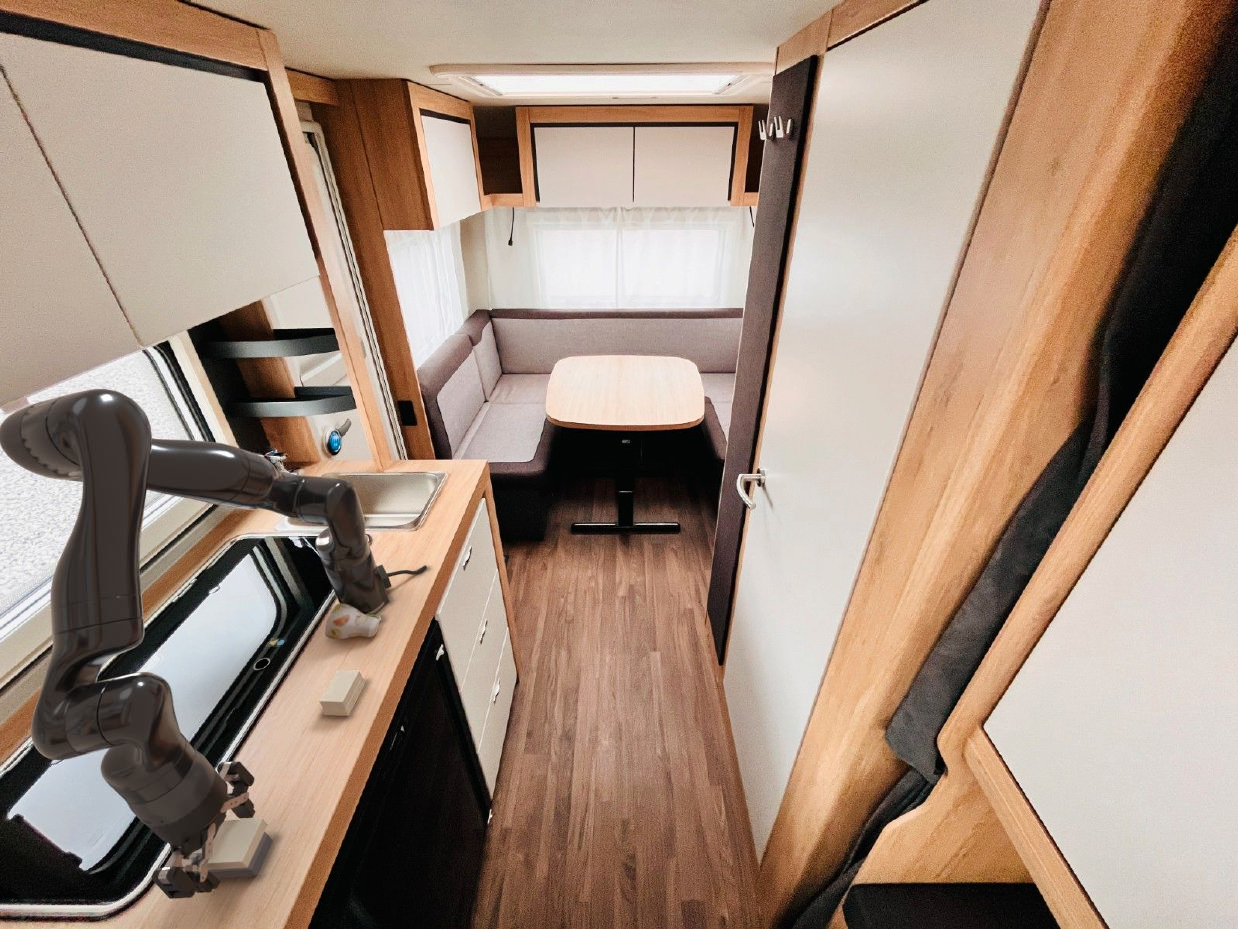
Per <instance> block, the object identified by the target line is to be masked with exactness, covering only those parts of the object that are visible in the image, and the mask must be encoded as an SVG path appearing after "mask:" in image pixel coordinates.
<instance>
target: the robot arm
mask: <svg viewBox="0 0 1238 929" xmlns="http://www.w3.org/2000/svg"><path fill="white" fill-rule="evenodd" d="M150 422H151V421H150V419H149V417H148V415H147V414H146V411H145V410H144V409H143V408H142V407H141V406H140V404H139V403H138V402H136V401H135V400H134V399H133V398H132V397H130V396H129V395H126V394H125V393H123V392H120V391H118V390H114V389H108V388H93V389H86V390H81V391H77V392H73V393H69V394H65V395H62V396H57V397H53V398H49V399H46V400H43V401H39V402H35V403H32V404H29V405H27V406H25V407H22V408H20V409H17V410H16V411H13V413H11V414H10V415H8V416H7V417H6V418H5V419H4V420H3V421H2V422H1V423H0V447H1V449H2V451H3V452H4V453H5V454H6V456H7V457H8V458H9V459H10V460H11V461H12V462H13V463H15V464H16V465H18V466H19V467H21V468H22V469H24V470H26V471H28V472H31V473H33V474H35V475H38V476H41V477H45V478H48V479H53V480H59V481H67V482H79V483H82V492H81V493H82V494H81V502H80V507H79V510H78V513H77V517H76V520H75V523H74V525H73V527H72V530H71V533H70V535H69V538H68V539H67V541H66V544H65V546H64V549H63V551H62V552H61V554H60V557H59V558H58V561H57V564H56V566H55V569H54V573H53V577H52V581H51V586H50V587H51V588H50V597H49V598H50V599H49V600H50V601H49V602H50V624H51V635H52V650H51V654H50V658H49V661H48V665H47V668H46V672H45V675H44V679H43V683H42V685H41V688H40V692H39V695H38V698H37V701H36V704H35V707H34V710H33V714H32V718H31V721H30V724H31V726H30V737H31V741H32V743H33V745H34V747H35V750H37V751H38V752H39V754H41V755H42V757H44V758H47V759H49V760H52V761H65V760H71V759H75V758H78V757H79V758H80V757H82V756H86V755H90V754H92V753H96V752H100V751H104V750H106V752H105V754H104V756H103V757H102V760H101V762H100V773H101V777H102V778H103V780H104V781H105V783H106V784H107V785H108V786H109V787H110V788H111V789H113V790H114V792H115V793H116V794H118V796H120V797H121V798H122V799H123V800H124V801H125V803H126V804H127V806H128V807H129V810H131V812H132V813H133V814H134V815H135V816H136V817H137V818H138V819H139V821H140V822H141V823H142V824H144V825H145V826H147V828H148V829H149V830H150V831H151V832H152V833H154V834H155V835H156V836H157V837H158V838H159V839H160V840H162V841H163V842H165V843H167V844H168V845H169V846H170V853H171V855H170V856H169V859H167V861H166V863H165V865H164V866H163V867H157V868H155V869H154V871H153V872H152V875H151V880H152V882H153V883H154V884H155V885H156V886H157V887H158V888H159V889H160V890H161V891H162V892H163V893H164V894H165V895H166V897H167V898H168V899H170V900H175V899H191V898H193V897H194V896H195V894H196V893H197V894H205V893H207V894H208V893H212V891H213V890H217V889H218V888H219V885H220V883H221V881H220V880H219V878H218V879H217V878H216V877H215V876H214V875H213V874H212V873H211V872H210V871H208V860H209V859H210V858H211V857H212V854H213V840H214V838H215V836H216V834H217V832H218V829H219V827H220V826H221V824H222V823H223V822H224V821H225V820H226V818H227V812H228V811H229V810H231V811H232V812H233V814H234V815H235V816H236V817H237V819H254V816H255V814H256V810H255V804H254V803H253V801H252V800H251V799H250V792H249V787H252V786H253V785H254V783H255V776H253V774H252V773H251V772H250V770H248V769H247V767H245V765H244V764H243V763H242V762H241V761H221V762H219V763H218V765H217V767H216V769H215V768H214V767H213V765H212V763H210V762H209V761H208V759H207V758H206V756H204V755H203V754H202V753H201V752H200V751H199V750H197V749H196V748H194V746H193V745H192V743H190V741H189V740H188V738H186V737H185V735H184V734H183V733H182V731H181V730H180V725H179V722H178V718H177V715H176V714H177V713H176V711H175V703H174V696H173V691H172V690H173V689H172V687H171V685H170V683H169V682H168V680H166V679H165V678H164V677H163V676H161V675H159V674H157V673H153V672H149V671H138V672H134V673H133V672H132V673H128V674H123V675H121V676H120V675H119V676H116V677H113V678H108V679H103V680H100V681H98V677H99V675H100V673H101V670H102V668H103V666H104V664H105V663H106V662H107V661H108V660H110V659H112V658H114V657H116V656H118V655H121V654H124V653H125V652H128V651H130V650H132V649H134V648H136V647H138V646H139V645H140V644H141V643H142V642H143V640H144V637H145V618H144V609H143V608H144V606H143V596H142V582H141V567H140V562H141V561H140V556H141V539H142V530H143V523H144V514H145V507H146V499H147V491H148V492H149V491H150V492H155V493H159V494H164V495H167V496H172V497H173V496H174V497H178V498H184V499H189V500H192V501H198V502H202V503H206V504H211V505H216V506H221V507H225V508H231V509H239V510H240V509H241V510H251V511H252V510H253V511H255V510H264V511H269V512H272V513H276V514H279V515H282V516H284V517H288V518H290V519H293V520H295V521H299V522H302V523H304V524H305V523H306V524H313V525H324V526H327V528H324V529H323V531H321V532H320V533H319V534H318V535H317V536H316V539H315V544H314V546H315V549H316V551H317V553H318V556H319V558H320V561H321V563H322V565H323V568H324V570H325V573H326V575H327V577H328V580H329V582H330V585H331V587H332V589H333V592H334V596H335V597H336V600H337V602H338V604H347V605H350V606H352V607H354V608H356V609H357V610H358V611H360V612H361V613H363V614H371V615H375V614H377V612H379V611H380V610H381V609H382V608H383V607H384V606H385V605H387V604H388V603H390V598H389V595H388V592H387V589H389V588H392V587H393V585H392V583H391V579H390V577H394V576H398V575H411V576H413V575H414V576H415V575H418V574H420V573H422V572H424V571H425V570H427V569H428V566H427V564H425V565H423V566H421V567H420V568H419V569H416V570H410V569H401V570H397V571H391V572H388V573H387V571H386V569H385V567H384V565H383V564H380V565H377V564H376V560H375V557H374V555H373V552H372V549H371V546H370V543H369V540H368V537H367V534H366V519H365V516H364V512H363V509H362V508H363V507H362V505H361V500H360V497H359V494H358V491H357V489H356V487H355V485H354V484H353V482H351V481H350V480H348V479H344V478H335V477H325V476H315V475H314V476H313V475H302V474H295V473H290V472H285V471H281V470H278V469H277V467H275V465H274V464H273V462H271V461H270V460H269V459H268V458H265V457H264V456H262V455H260V454H256V453H255V452H252V451H249V450H246V449H243V448H240V447H237V446H235V445H230V444H226V443H221V442H215V441H206V440H193V439H175V438H173V439H171V438H155V437H153V433H152V432H153V431H152V425H151V423H150ZM228 784H229V785H230V786H231V787H232V788H233V789H232V791H231V792H228V791H229V790H228V789H229V786H228ZM201 848H202V853H192V852H195V851H197V850H199V849H201ZM193 865H197V871H192V870H193Z"/></svg>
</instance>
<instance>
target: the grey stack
mask: <svg viewBox="0 0 1238 929" xmlns="http://www.w3.org/2000/svg"><path fill="white" fill-rule="evenodd" d="M272 844H273V839H272V837H271V836H270V835H269V834H268V833H267V832H266V831H265V832H264V834H263V836H262V838H261V840H260V842H259V844H258V847H257V849H256V851H255V853H254V855H253V857H252V859H251V861H250V863H249V866H248V868H232V869H215V870H208V871H210V872H211V873H212V874H213V875H214V876H215V877H216V878H217V879H218V880H219V879H234V878H249V877H251V878H252V877H258V874H259V872H260V870H261V868H262V866H263V863H264V861H265V859H266V856H267V854H268V853H269V850H270V848H271V846H272Z"/></svg>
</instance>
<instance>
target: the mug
mask: <svg viewBox="0 0 1238 929" xmlns="http://www.w3.org/2000/svg"><path fill="white" fill-rule="evenodd" d="M380 622H382V618H381V616H380V615H379V614H373V615H371V614H363V613H361V612H360V611H358V610H357V609H356V608H354V607H352V606H350V605H347V604H340V603H338V604H336V605H335V606H334V607H333V608H332V610H331V611H330V613H329V615H328V617H327V620H326V623H325V629H324V636H325V637H326V638H328V639H332V640H344V639H348V638H354V637H367V638H371V637H373V636H375V635H376V634H377V632H378V631H379V628H380Z"/></svg>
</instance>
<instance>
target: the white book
mask: <svg viewBox="0 0 1238 929" xmlns="http://www.w3.org/2000/svg"><path fill="white" fill-rule="evenodd" d="M267 827H268V823H267V821H265V819H264V818H243V819H229V820H227V819H225V820H224V822H223V823H222V824H221V826H220V827H219V829H218V832H217V834H216V836H215V838H214V840H213V854H212V857H211V858H210V859H209V860H208V870H215V869H232V868H248V866H249V863H250V861H251V859H252V857H253V855H254V853H255V851H256V849H257V847H258V844H259V842H260V840H261V838H262V836H263V834H264V832H266V830H267ZM192 853H202V848H201V849H199V850H197V851H195V852H192ZM192 871H197V865H193V870H192Z"/></svg>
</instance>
